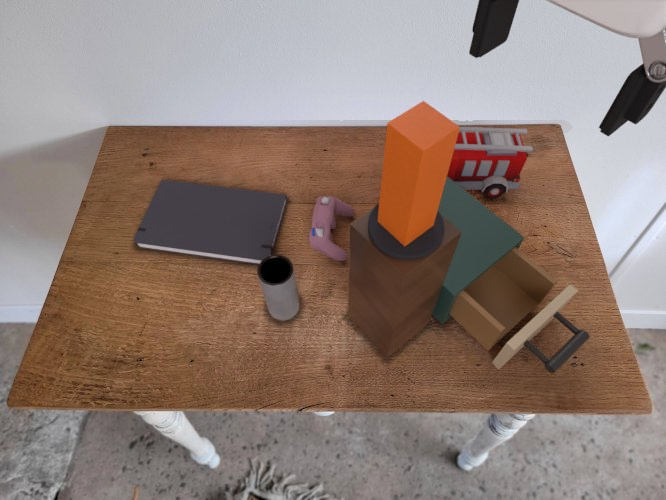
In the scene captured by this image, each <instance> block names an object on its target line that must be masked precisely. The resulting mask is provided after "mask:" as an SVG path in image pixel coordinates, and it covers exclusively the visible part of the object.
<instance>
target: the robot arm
mask: <svg viewBox="0 0 666 500" xmlns="http://www.w3.org/2000/svg"><path fill="white" fill-rule="evenodd" d="M545 1H546V2H549V3H550V4H552V5H555V6H556V7H558V8H561V9H563V10H565V11H567V12H569V13H571V14H573V15H575V16H578V17H579V18H582V19H583V20H585V21H587V22H590V23H592V24H593V25H596V26H599V27H600V28H603V29H604V30H607V31H609V32H612V33H614V34H617V35H618V36H623V37H626V38H632V39H638V45H639V48H640V53H641V58H642V64H641V65H639V66H637V67H636V68H635V69H633V71H631V72H630V73H628V76H627V77H626V78H625V80H624V82H623V84H622V86H621V87H620V89H619V91H618V93H617V94H616V96H615V97H614V99H613V101H612V103H611V105H610V106H609V108H608V110H607V111H606V114H605V115H604V117H603V118H602V120H601V123H600V124H599V126H598V129H600V131H599V132H600V133H601V134H603V135H605V136H606V137H610V136H611V135H612V134H614V133H615V132H616V131H618V130H619V129H620V128H621V127H623V125H625V124H626V123H627V122H630V123H632V124H633V125H637V124H639V123H640V122H641V121H642V120H644V118H646V116H647V115H648V114H649V113H650V112H651V110H652V109H653V107H654V106H655V104H656V103H657V102H658V100H659V98H660V97H661V95H662V94H663V92H664V91H665V89H666V0H545ZM519 2H520V0H478V3H477V8H476V11H475V16H474V20H473V23H472V24H473V25H472V29H471V30H472V33H473V34H472V38H471V42H470V47H469V51H468V54H469V55H470V56H472V57H473V58H475V59H477V58H482V57H484V56H486V55H487V54H488V53H490V52H491V51H493V50H495V49H496V48H498V47H499V46H501V45H503V44H505V42H507V40H508V38H509V36H510V33H511V30H512V29H511V28H512V25H513V22H514V18H515V15H516V12H517V10H518V6H519V4H520V3H519Z"/></svg>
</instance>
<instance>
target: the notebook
mask: <svg viewBox="0 0 666 500" xmlns="http://www.w3.org/2000/svg"><path fill="white" fill-rule="evenodd" d="M287 203H288V196H287V194H283V193H276V192H267V191H260V190H251V189H244V188H243V189H242V188H235V187H229V186H228V187H227V186H219V185H210V184H203V183H195V182H187V181H181V180H180V181H179V180H172V179H163V178H162V179H160V182H159V184H158V186H157V188H156V191H155V192H154V193H153V196H152V199H151V201H150V203H149V205H148V207H147V208H146V212H145V213H144V215H143V217H142V220H141V222H140V224H139V226H138V227H137V230H136V232H135V235H134V237H133V242H134V243H136V246H137V248H140V249H145V250H152V251H158V252H164V253H165V252H166V253H173V254H180V255H188V256H193V257H194V256H195V257H202V258H210V259H215V260H223V261H228V262H229V261H231V262H236V263H246V264H252V265H257V266H259V264H260V262H261V261H262V260H263V259H264V258H266V257H268V256H270V255H273V253H274V249H275V246H276V242H277V238H278V235H279V231H280V228H281V224H282V221H283V217H284V214H285V210H286V206H287Z"/></svg>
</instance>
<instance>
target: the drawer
mask: <svg viewBox="0 0 666 500" xmlns="http://www.w3.org/2000/svg"><path fill="white" fill-rule="evenodd" d="M557 283H558V280H557V279H556V278H554V277H553V276H552V275H551V274H550V273H549V272H547V271H546V270H545V269H544V268H542V267H541V266H540V265H539V264H537V263H536V262H535V261H534V260H532V259H531V258H530V257H529V256H527V255H526V254H525V253H524V252H523V251H521V250H520V248H519V249H517V248H516V247H515V248H514V249H512V250H511V251H510V252H509V253H508V254H506V255H505V256H504V257H503V258H502V259H500V260H499V261H498V262H497V263H495V264H494V265H493V266H492V267H491V268H489V269H488V270H487V271H486V272H485V273H483V274H482V275H481V276H480V277H479V278H477V279H476V280H475V281H474V282H473V283H471V284H470V285H469V286H468V287H466V288H465V289H464V290H463V291H462V292H460V293H459V294H458V295H457V297H456V299H455V302H454V304H453V306H452V309H451V311H450V313H449V314H450V315H451V316H452V317H451V318H452V319H454V320H455V321H456V322H457V323H458V324H459V325H460V326H461V327H462V328H463V329H464V330H465V331H466V332H468V334H469V335H470V336H472V337H473V339H474V340H476V341H477V342H478V343H479V344H480V345H481V346H482V347H483V348H484V349H485V350H486V351H487V352H489V351H490V350H491V349H492V348H493V347H495V345H497V344H498V343H499V342H500V341H501V340H502V339H504V337H505V336H506V335H508V333H510V332H511V331H512V330H513V329H514V328H515V327H516V326H517V325H519V324H520V323H521V322H522V321H523V320H524V319H525V318H526V317H527V316H529V315H530V313H532V312H533V311H534V310H535V309H536V308H538V307H539V305H540V304H542V302H543V301H544V300H545V299H546V297H547V296H548V295H549V293H550V292H551V290H552V289H553V288H554V286H555V285H556V284H557ZM578 292H579V289H578V288H577V287H575V286H574V285H572V284H571V283H569V284H568V286H567V287H564V289H563V290H562V291H561V292H560V293H559V294H558V295H556V296H555V297H554V298H553V299H552V300H551V301H550V302H549V303H548V304H546V306H545V307H543V308H542V309H541V310H540V311H539V312H538V313H537V314H536V315H535V316H534V317H533V318H531V319H530V320H529V322H527V323H526V324H525V325H524V326H523V327H521V329H520V330H519V331H518V332H516V333H515V334H514V335H513V336H512V337H511V338H510V339H509V340H508V341H506V343H505V344H504V345H503V347H502V348H501V349H500V350H499V352H498V353H497V355H496V356H495V358H494V359H493V360H492V361H491V364H492V365H493V366H494V367H495V368H497V369H498V370H500V369H501V368H502V367H503V366H505V365H506V363H508V362H509V361H510V360H511V359H512V358H513V357H514V356H515V355H516V354H518V352H520V350H521V349H522V348H524V347H526V349H527V350H529V352H531V353H532V354H533V355H535V357H536V358H538V360H540V361H541V362H542V363H543V364H544V369H545V370H546V371H547V372H548V373H550V374H555V373H557V371H558V370H559V369H560V368H561V367H562V366H563V365H564V364H565V363H566V362H567V361H568V360H569V359H570V358H571V357H572V356H573V355H574V354H575V353H576V352H577V351H578V350H579V349H580V348H581V347H582V346H583V345H584V344H585V343H587V341H588V340H589V339H590V337H591V336H590V334H589V333H588V332H587V331H586V330H585V329H579V328H578V327H577V326H575V325H574V324H573V323H572V322H571V321H569V320H568V319H567V318H566V317H565V316H564V315H562V314H561V313H560V312H561V311H562V310H563V309H564V308H565V307H566V305H568V303H569V302H570V301H571V300H572V298H573V297H574V296H575V295H576V294H577V293H578ZM553 319H556V320H557V321H558V322H559V323H560V324H561V325H563V326H564V327H565V328H567V329H568V330H569V331H570V332H571V333H572V334H574V335H573V336H571V337H570V339H569V340H568V341H567V342H566V343H565V344H563V346H561V348H560V349H559V350H557V352H556V353H554V354H553V355H552V357H550V358H549V357H547V356H546V355H545V354H544V353H543V352H541V350H539V349H538V348H537V347H536V346H535V345H534V344H533V343H531V342H530V341H531V340H532V339H533V338H534V337H535V336H536V335H537V334H539V333H540V332H541V331H542V330H543V329H544V328H545V327H546V326H548V324H549V323H551V321H552V320H553Z"/></svg>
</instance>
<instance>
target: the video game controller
mask: <svg viewBox="0 0 666 500" xmlns="http://www.w3.org/2000/svg"><path fill="white" fill-rule="evenodd" d="M313 208H314V209H313V212H312V218H311V229H310V230H309V233H308V239H309V244H310V246H311V248H312V249H313V250H314V251H318V252H319V253H321V254H323V255H324V256H326V257H328V258H330V259H333V260H335V261H340V262H345V261H347V260H349V254H348V253H347V251H345V250H344V249H343V248H341V247H340V246H338V245H337V244H335V243H334V237H333V233H332V232H331V231H332V230H334V229H336V228H337V227H336V226H337V220H336V218H335V214H336V215H339V216H342V217H348V218H349V217H353V216H354V215H355V209H354V208H353V206H351V205H349V204H348V203H347V202H344V201H342V200H340V199H338V198H336V197H335V196H333V195H321V196H318V197H317V198H316V200H315V205H314V207H313Z"/></svg>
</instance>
